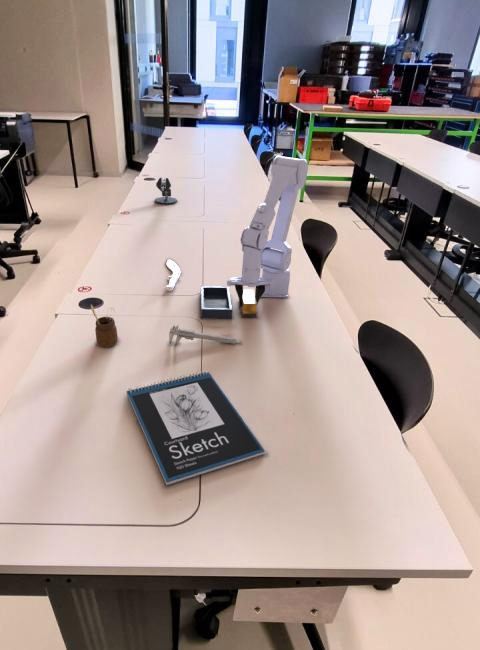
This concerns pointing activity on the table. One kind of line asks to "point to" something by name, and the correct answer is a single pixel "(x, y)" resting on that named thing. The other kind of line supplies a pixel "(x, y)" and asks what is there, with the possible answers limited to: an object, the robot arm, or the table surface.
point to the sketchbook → (192, 427)
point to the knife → (174, 277)
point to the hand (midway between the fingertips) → (247, 305)
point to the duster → (249, 304)
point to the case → (215, 302)
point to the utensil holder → (105, 330)
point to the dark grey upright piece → (165, 192)
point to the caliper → (197, 336)
